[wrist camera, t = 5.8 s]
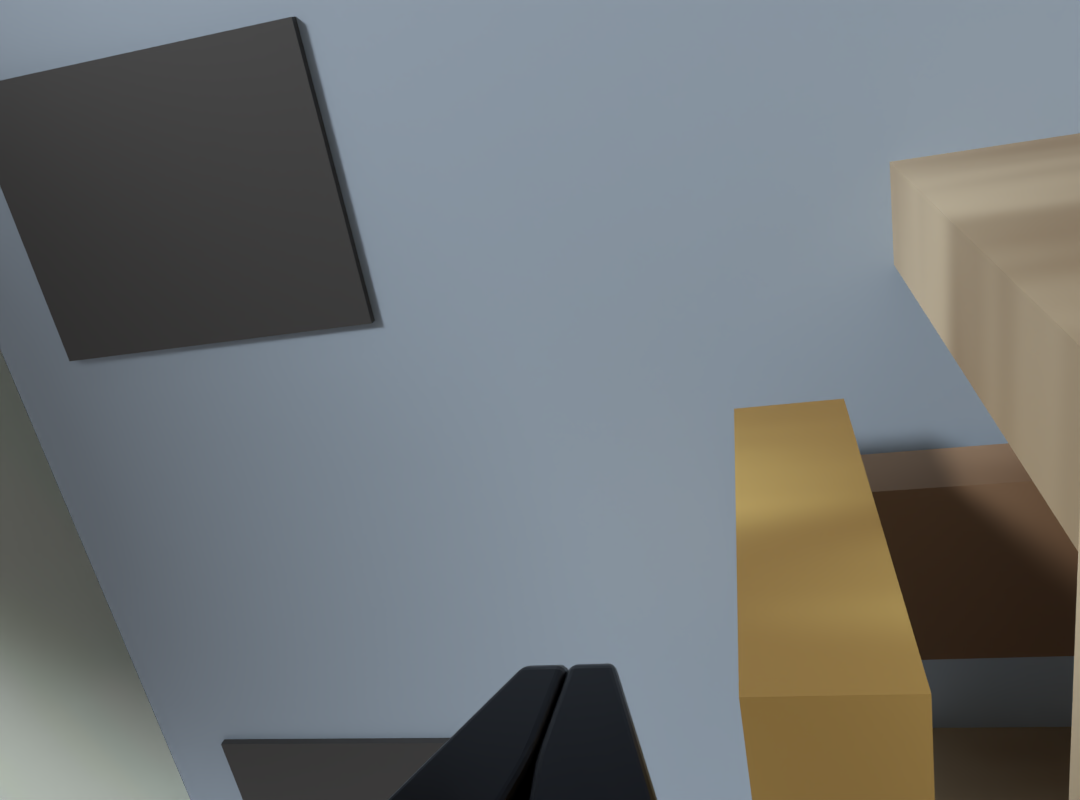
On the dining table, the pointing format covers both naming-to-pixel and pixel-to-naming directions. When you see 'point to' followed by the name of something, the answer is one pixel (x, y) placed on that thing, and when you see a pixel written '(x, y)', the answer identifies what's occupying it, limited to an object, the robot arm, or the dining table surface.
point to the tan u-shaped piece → (877, 595)
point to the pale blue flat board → (474, 341)
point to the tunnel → (1006, 379)
